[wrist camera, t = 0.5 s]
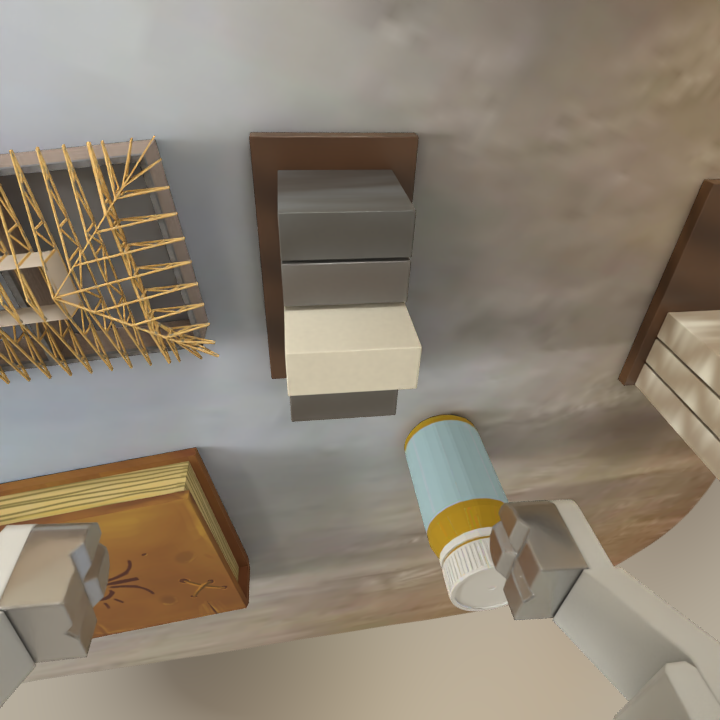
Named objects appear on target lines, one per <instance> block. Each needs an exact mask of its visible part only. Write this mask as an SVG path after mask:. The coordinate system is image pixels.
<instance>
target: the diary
mask: <svg viewBox="0 0 720 720" xmlns="http://www.w3.org/2000/svg"><path fill="white" fill-rule="evenodd" d="M92 522H98V524H99V527H100V529H101V532H102V534H101V537H100V540H99V543H101V544H102V545H104V546H106V547H107V550H108V554H109V563H110V567H109V576H108V583H107V587H106V591H105V595H104V597H103V598H102V599H101V600H100V601H99V602H98V603H97V604H96V605H95V606H94V607H93V610H94V613H95V615H96V618H97V623H96V626H95V630H94V633H93V637H92V638H97V637H102V636H107V635H112V634H117V633H122V632H127V631H132V630H137V629H142V628H147V627H152V626H157V625H162V624H167V623H172V622H177V621H182V620H187V619H192V618H197V617H202V616H207V615H212V614H217V613H222V612H227V611H232V610H238V609H243V608H246V607H247V605H248V603H249V581H250V566H249V559H248V556H247V554H246V552H245V550H244V548H243V546H242V543H241V541H240V539H239V537H238V535H237V533H236V531H235V529H234V527H233V524H232V522H231V520H230V518H229V516H228V514H227V512H226V510H225V508H224V505H223V503H222V501H221V499H220V497H219V495H218V493H217V491H216V489H215V486H214V484H213V482H212V480H211V478H210V476H209V474H208V472H207V469H206V467H205V465H204V463H203V461H202V459H201V457H200V455H199V453H198V450H197V448H190V449H185V450H180V451H174V452H169V453H164V454H158V455H153V456H148V457H142V458H137V459H132V460H126V461H121V462H116V463H110V464H105V465H100V466H94V467H89V468H84V469H78V470H73V471H68V472H62V473H57V474H52V475H46V476H41V477H36V478H30V479H25V480H20V481H14V482H9V483H4V484H0V532H1V531H2V530H3V529H4V528H5V527H6V526H7V525H23V524H58V523H92Z"/></svg>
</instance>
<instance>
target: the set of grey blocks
mask: <svg viewBox="0 0 720 720" xmlns="http://www.w3.org/2000/svg"><path fill="white" fill-rule="evenodd" d="M249 140H250V150H251V161H252V172H253V183H254V194H255V204H256V215H257V226H258V237H259V247H260V258H261V269H262V280H263V291H264V301H265V312H266V323H267V334H268V345H269V355H270V366H271V377H272V379H280V378H287V374H286V360H285V323H284V306H285V307H287V306H313V305H339V304H365V303H391V302H406V301H407V295H408V285H409V276H410V266H411V261H410V259H409V257H411V256H412V247H413V237H414V227H415V218H416V210H415V208H414V207H413V205H412V200H413V190H414V179H415V169H416V158H417V148H418V136H417V135H416V134H415V133H296V132H251V133H250V136H249ZM397 395H398V390H381V391H364V392H347V393H331V394H314V395H297V396H290V405H291V420H292V422H295V421H310V420H325V419H340V418H355V417H371V416H386V415H395V414H396V405H397Z"/></svg>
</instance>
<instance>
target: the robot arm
mask: <svg viewBox="0 0 720 720" xmlns="http://www.w3.org/2000/svg"><path fill="white" fill-rule="evenodd" d="M498 514H499V516H500V519H501V520H500V521H499V522H498V523H496V524H495V525H494V526H493V527H492V530H491V533H490V547H489V548H490V553H491V558H492V561H493V564H494V567H495V569H496V571H498V572H499V573H500V574H501V575H502V576H503V577H504V578H505V579H506V581H505V584H504V588H503V591H504V594H505V596H506V599H507V602H508V604H509V607H510V609H511V612H512V614H513V617H514V620H525V619H543V618H553V621H554V623H556V624H557V626H558V627H559V628H560V629H561V630H562V631H563V632H564V633H565V634H566V635H567V636H568V637H569V638H570V640H571V641H572V642H573V643H574V644H575V645H576V646H577V647H578V648H579V649H580V650H581V651H582V652H583V653H584V654H585V655H586V656H587V658H588V659H589V660H590V661H591V662H592V663H593V664H594V665H595V666H596V667H597V668H598V669H599V670H600V671H601V672H602V673H603V674H604V676H605V677H606V678H607V679H608V680H609V681H610V682H611V683H612V684H613V685H614V686H615V687H616V688H617V689H618V690H619V692H621V694H623V696H624V697H626V699H627V700H628V701H629V702H628V703H627V704H626V705H625V706H624V707H623V708H622V709H621V710H620V711H619V712H618V713H617V714H616V715H615V716H614V719H613V720H720V642H718V641H717V640H716V639H715V638H713V637H712V636H711V635H709V634H708V633H707V632H705V631H704V630H703V629H701V628H700V627H699V626H697V625H696V624H695V623H694V622H692V621H691V620H690V619H688V618H687V617H686V616H684V615H683V614H682V613H680V612H679V611H678V610H676V609H675V608H674V607H672V606H671V605H670V604H669V603H667V602H666V601H664V600H663V599H662V598H661V597H659V596H658V595H657V594H655V593H654V592H652V591H651V590H650V589H649V588H647V587H646V586H644V585H643V584H642V583H641V582H640V581H638V580H637V579H636V578H634V577H633V576H632V575H630V574H629V573H628V572H626V571H625V570H624V569H622V568H621V567H614V566H613V565H612V563H611V561H610V559H609V558H608V556H607V554H606V553H605V551H604V549H603V547H602V546H601V544H600V542H599V541H598V539H597V537H596V536H595V534H594V532H593V530H592V529H591V527H590V525H589V524H588V522H587V520H586V518H585V517H584V515H583V513H582V512H581V510H580V508H579V506H578V505H577V504H576V503H575V502H574V501H573V500H569V499H566V500H551V501H548V500H538V501H522V502H506V503H504V504H503V505H502V506H501V508H500V510H499V513H498ZM101 534H102V532H101V529H100V527H99V524H98V522H92V523H58V524H23V525H7V526H6V527H5V528H4V529H3V530H2V531H1V532H0V708H1V706H2V705H3V704H4V703H5V702H6V701H7V699H8V698H9V697H10V696H11V695H12V693H13V692H14V691H15V690H16V688H18V686H19V685H20V684H21V683H22V682H23V681H24V679H25V678H26V677H27V676H28V675H29V673H30V672H31V671H32V670H33V669H34V668H35V666H36V664H35V663H38V662H47V661H56V660H65V659H74V658H83V657H87V654H88V651H89V647H90V644H91V640H92V637H93V633H94V630H95V626H96V623H97V618H96V615H95V613H94V610H93V607H94V606H95V605H96V604H97V603H98V602H99V601H100V600H101V599H102V598H103V597H104V595H105V591H106V587H107V583H108V576H109V567H110V563H109V554H108V550H107V547H106V546H104V545H102V544H101V543H99V540H100V537H101Z"/></svg>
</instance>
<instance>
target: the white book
mask: <svg viewBox="0 0 720 720" xmlns="http://www.w3.org/2000/svg"><path fill="white" fill-rule="evenodd" d="M284 323H285V360H286V374H287V388H288V396H297V395H314V394H331V393H347V392H364V391H381V390H398V389H414V388H417V382H418V374H419V367H420V359H421V351H422V346H421V344H420V341H419V339H418V336H417V333H416V331H415V328H414V326H413V323H412V321H411V318H410V315H409V313H408V310H407V308H406V305H405V303H404V302H391V303H365V304H339V305H313V306H287V307H285V306H284Z"/></svg>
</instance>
